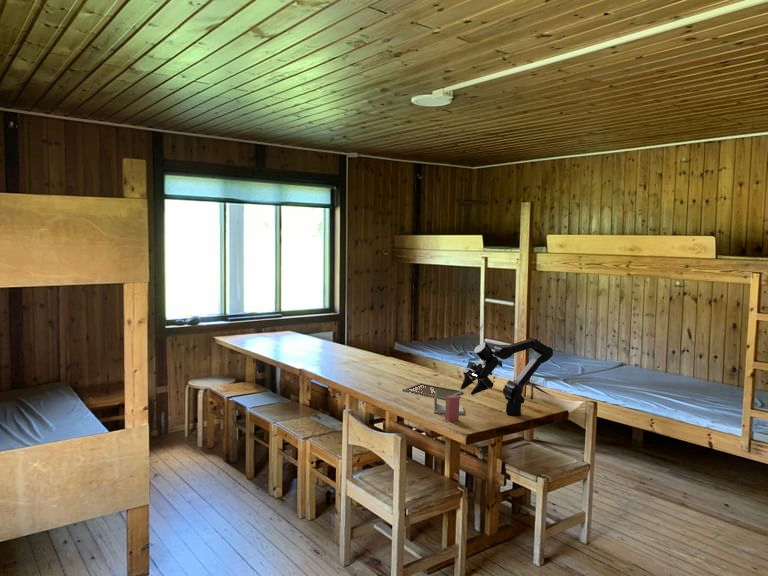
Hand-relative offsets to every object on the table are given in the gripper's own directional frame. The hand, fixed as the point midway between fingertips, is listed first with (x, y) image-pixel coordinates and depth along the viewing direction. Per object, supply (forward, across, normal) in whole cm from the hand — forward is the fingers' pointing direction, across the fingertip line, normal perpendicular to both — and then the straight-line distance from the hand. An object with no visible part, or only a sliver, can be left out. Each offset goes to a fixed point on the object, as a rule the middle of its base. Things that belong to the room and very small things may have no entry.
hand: (466, 391), depth 263 cm
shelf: (+10, -14, +8) cm, 19 cm away
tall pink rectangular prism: (+14, 0, +4) cm, 15 cm away
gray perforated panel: (+4, -45, +15) cm, 48 cm away
